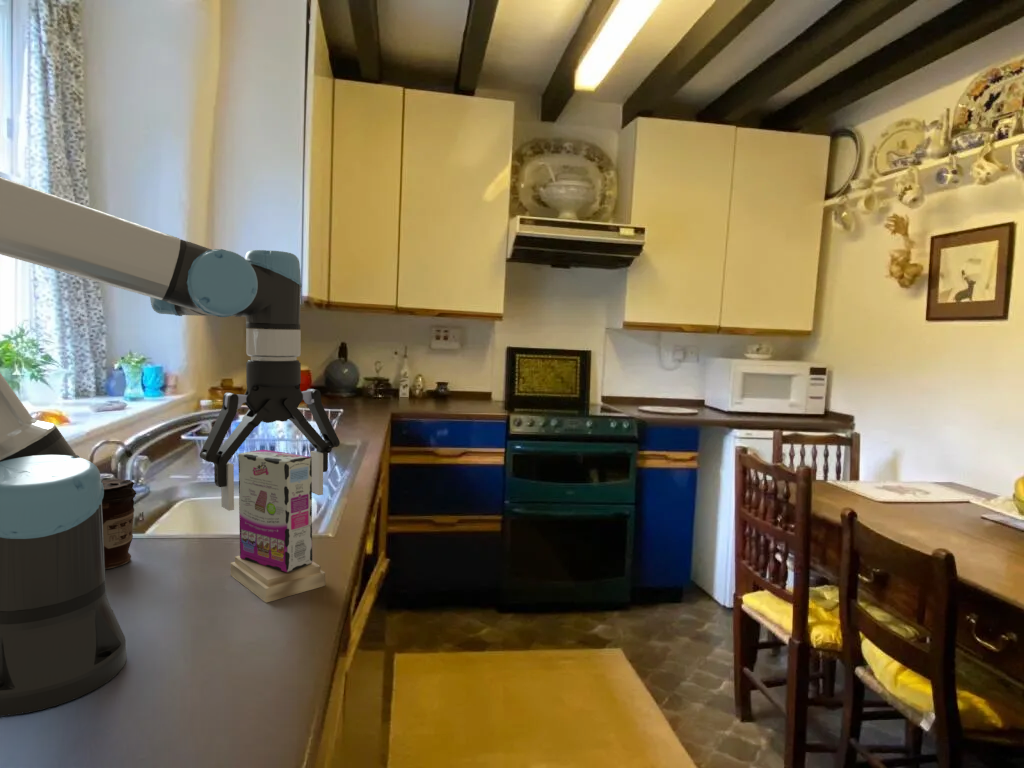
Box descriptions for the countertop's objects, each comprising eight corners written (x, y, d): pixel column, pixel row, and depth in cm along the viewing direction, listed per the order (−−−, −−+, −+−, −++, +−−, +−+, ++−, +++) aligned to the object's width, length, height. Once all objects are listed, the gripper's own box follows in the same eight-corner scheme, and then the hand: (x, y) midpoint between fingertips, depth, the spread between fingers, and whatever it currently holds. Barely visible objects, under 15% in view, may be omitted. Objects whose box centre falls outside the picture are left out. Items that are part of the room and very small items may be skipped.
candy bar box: (314, 563, 97) (313, 456, 95) (287, 574, 93) (286, 462, 91) (265, 549, 103) (264, 447, 101) (238, 558, 98) (235, 452, 97)
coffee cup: (152, 555, 107) (149, 478, 106) (116, 574, 99) (113, 491, 98) (103, 552, 108) (100, 476, 107) (63, 571, 100) (60, 489, 98)
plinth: (265, 602, 90) (265, 581, 90) (230, 575, 99) (230, 556, 99) (325, 585, 96) (325, 566, 96) (286, 561, 106) (286, 543, 105)
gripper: (338, 356, 106) (337, 483, 108) (173, 358, 89) (176, 509, 91) (362, 358, 101) (361, 492, 103) (191, 361, 83) (194, 521, 85)
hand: (274, 500), depth 97 cm, fingers open, 13 cm apart
